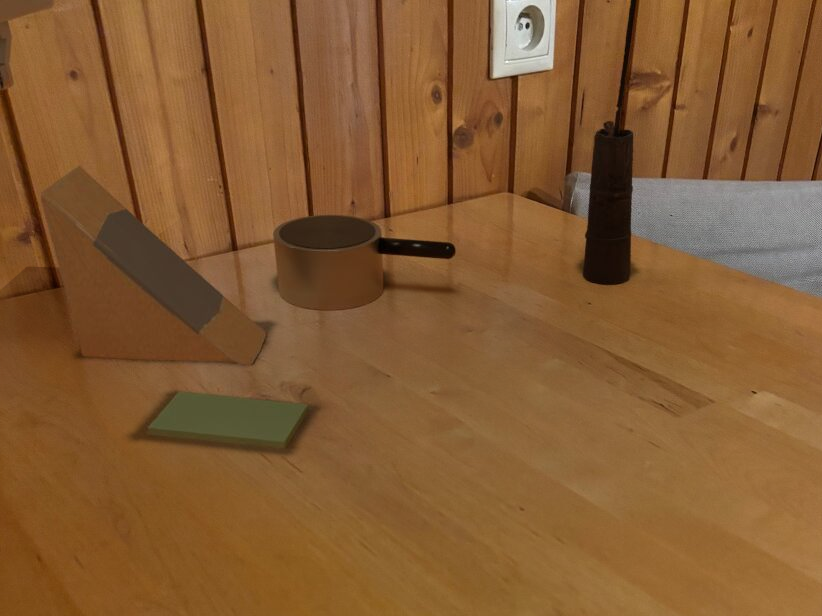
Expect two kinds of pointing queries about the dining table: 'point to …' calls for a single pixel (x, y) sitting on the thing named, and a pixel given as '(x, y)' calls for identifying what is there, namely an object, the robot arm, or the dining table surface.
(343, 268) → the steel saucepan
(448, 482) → the dining table surface
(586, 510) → the dining table surface
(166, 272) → the sandwich container
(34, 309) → the dining table surface
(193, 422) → the green rectangular slab
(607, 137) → the butter churn
